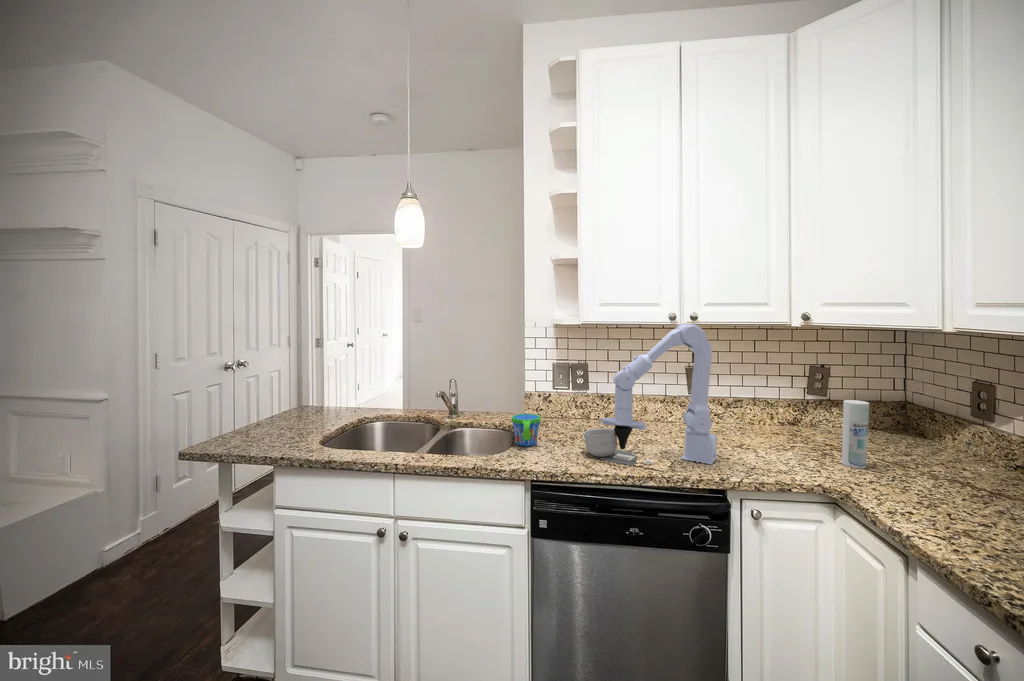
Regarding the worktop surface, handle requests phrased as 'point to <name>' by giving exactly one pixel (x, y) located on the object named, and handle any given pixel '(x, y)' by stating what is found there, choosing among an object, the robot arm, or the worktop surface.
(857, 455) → the spray can
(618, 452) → the label mat
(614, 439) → the teacup
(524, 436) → the snack cup
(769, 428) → the worktop surface
